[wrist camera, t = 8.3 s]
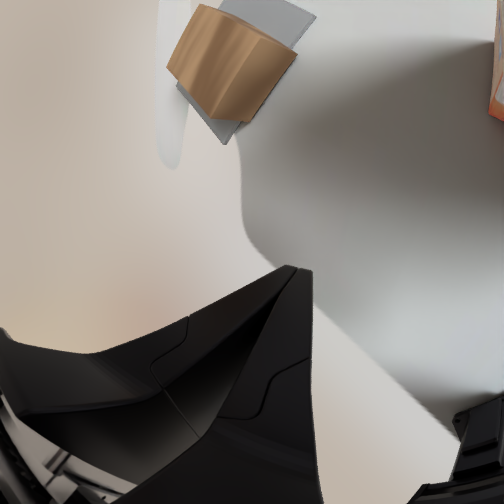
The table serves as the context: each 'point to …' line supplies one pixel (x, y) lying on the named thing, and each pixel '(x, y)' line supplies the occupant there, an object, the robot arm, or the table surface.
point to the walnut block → (227, 64)
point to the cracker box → (498, 66)
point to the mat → (269, 21)
